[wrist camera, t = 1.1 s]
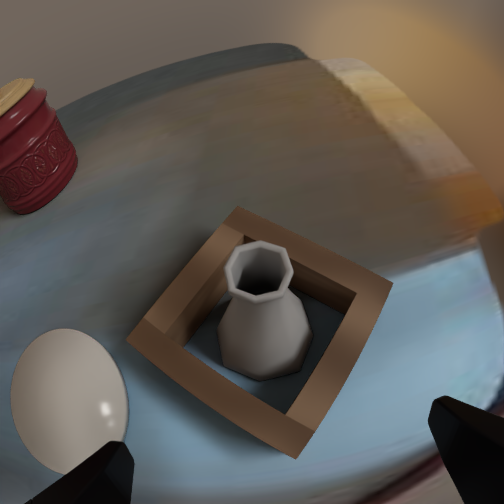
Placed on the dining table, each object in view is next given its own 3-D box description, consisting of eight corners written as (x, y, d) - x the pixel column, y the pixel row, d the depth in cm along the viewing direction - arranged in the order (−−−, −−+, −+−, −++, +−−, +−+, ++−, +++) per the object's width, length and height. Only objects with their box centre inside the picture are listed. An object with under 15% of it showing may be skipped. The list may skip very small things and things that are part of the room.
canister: (13, 179, 37) (-37, 98, 22) (77, 139, 40) (35, 46, 25) (8, 232, 30) (-66, 137, 16) (84, 184, 33) (23, 66, 18)
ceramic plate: (78, 502, 14) (72, 504, 14) (0, 398, 19) (-6, 396, 18) (160, 397, 20) (156, 396, 19) (65, 305, 24) (60, 301, 24)
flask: (210, 377, 21) (165, 338, 12) (222, 288, 25) (195, 206, 16) (311, 384, 20) (339, 350, 12) (313, 292, 24) (333, 210, 15)
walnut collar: (291, 453, 17) (295, 459, 14) (147, 354, 22) (125, 339, 18) (377, 305, 23) (393, 283, 19) (242, 235, 27) (237, 205, 24)
